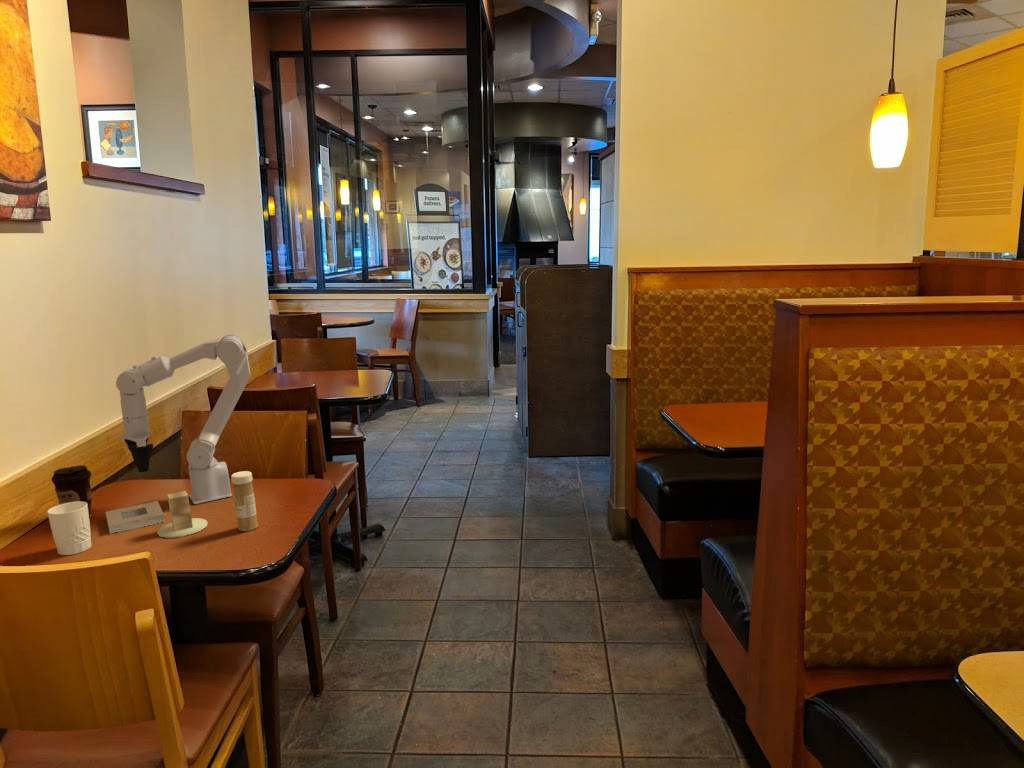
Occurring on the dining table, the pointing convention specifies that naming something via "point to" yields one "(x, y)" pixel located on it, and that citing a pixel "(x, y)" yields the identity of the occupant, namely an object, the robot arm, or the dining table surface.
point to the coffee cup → (73, 485)
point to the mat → (169, 532)
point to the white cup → (70, 527)
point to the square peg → (180, 511)
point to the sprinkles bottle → (244, 500)
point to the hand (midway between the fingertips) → (141, 467)
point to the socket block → (134, 517)
